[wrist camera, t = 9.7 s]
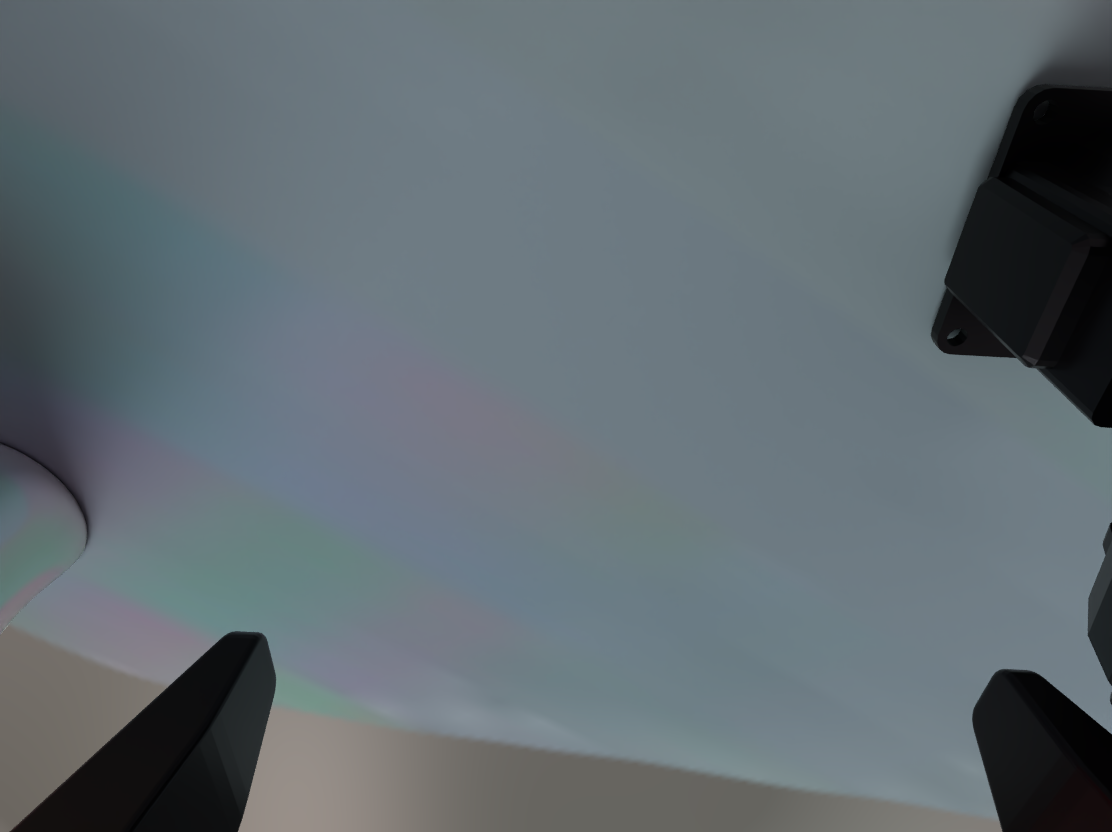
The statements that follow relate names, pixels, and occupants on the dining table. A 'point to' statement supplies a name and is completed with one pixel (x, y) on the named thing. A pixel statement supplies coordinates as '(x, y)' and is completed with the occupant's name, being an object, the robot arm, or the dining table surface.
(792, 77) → the dining table surface
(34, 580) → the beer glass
